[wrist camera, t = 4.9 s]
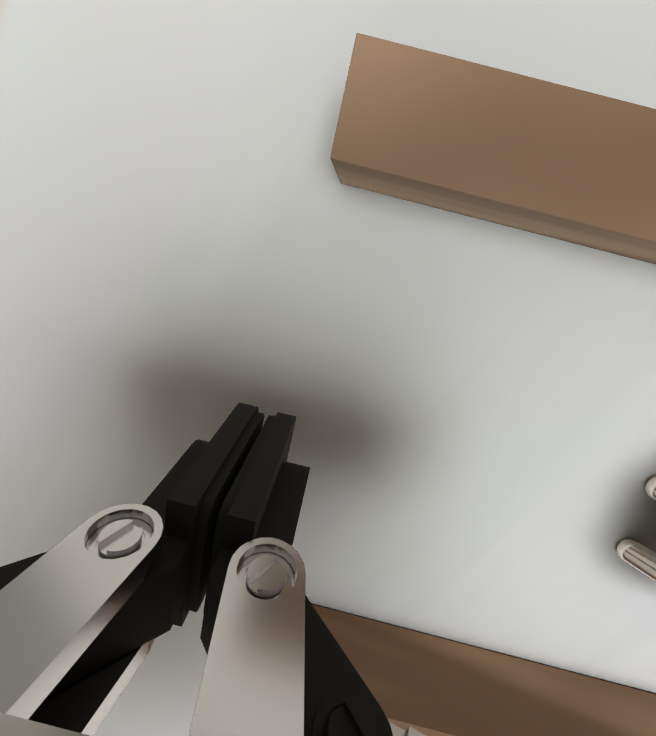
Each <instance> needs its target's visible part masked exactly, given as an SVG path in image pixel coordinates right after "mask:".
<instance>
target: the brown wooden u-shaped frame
mask: <svg viewBox="0 0 656 736" xmlns="http://www.w3.org/2000/svg"><path fill="white" fill-rule="evenodd" d="M331 161H332V163H333V165H334V168H335V170H336V173H337V175H338V177H339V180H340V182H341V183H342V184H346V185H350V186H354V187H358V188H362V189H366V190H370V191H373V192H377V193H381V194H385V195H389V196H393V197H397V198H401V199H405V200H408V201H412V202H416V203H420V204H424V205H428V206H432V207H436V208H439V209H443V210H447V211H451V212H455V213H459V214H463V215H467V216H471V217H474V218H478V219H482V220H486V221H490V222H494V223H498V224H502V225H505V226H509V227H513V228H517V229H521V230H525V231H529V232H533V233H537V234H540V235H544V236H548V237H552V238H556V239H560V240H564V241H568V242H571V243H575V244H579V245H583V246H587V247H591V248H595V249H599V250H603V251H606V252H610V253H614V254H618V255H622V256H626V257H630V258H634V259H637V260H641V261H645V262H649V263H653V264H656V109H653V108H649V107H645V106H641V105H637V104H633V103H629V102H625V101H621V100H617V99H613V98H610V97H606V96H602V95H598V94H594V93H590V92H586V91H582V90H578V89H574V88H571V87H567V86H563V85H559V84H555V83H551V82H547V81H543V80H539V79H535V78H531V77H528V76H524V75H520V74H516V73H512V72H508V71H504V70H500V69H496V68H492V67H489V66H485V65H481V64H477V63H473V62H469V61H465V60H461V59H457V58H453V57H449V56H446V55H442V54H438V53H434V52H430V51H426V50H422V49H418V48H414V47H410V46H407V45H403V44H399V43H395V42H391V41H387V40H383V39H379V38H375V37H371V36H367V35H364V34H360V33H357V34H356V39H355V43H354V48H353V53H352V58H351V62H350V67H349V72H348V77H347V81H346V86H345V91H344V96H343V100H342V105H341V110H340V115H339V119H338V124H337V129H336V134H335V139H334V143H333V148H332V153H331ZM312 606H313V607H314V608H315V610H316V611H317V613H318V614H319V616H320V617H321V619H322V620H323V622H324V623H325V625H326V626H327V628H328V629H329V631H330V632H331V634H332V635H333V637H334V638H335V640H336V641H337V642H338V644H339V645H340V647H341V648H342V650H343V651H344V653H345V654H346V656H347V657H348V659H349V660H350V662H351V663H352V665H353V666H354V668H355V669H356V671H357V672H358V673H359V675H360V676H361V678H362V679H363V681H364V682H365V684H366V685H367V687H368V688H369V690H370V691H371V693H372V694H373V696H374V697H375V699H376V700H377V702H378V703H379V705H380V706H381V708H382V710H383V712H384V713H385V715H386V717H387V719H388V721H389V722H391V723H393V724H394V725H396V726H398V727H399V728H401V729H403V730H405V731H406V730H407V729H408V727H409V726H410V727H412V728H414V729H416V730H417V731H419V732H421V733H423V734H424V735H426V736H656V694H653V693H649V692H645V691H641V690H638V689H634V688H630V687H626V686H622V685H618V684H615V683H611V682H607V681H603V680H599V679H595V678H592V677H588V676H584V675H580V674H576V673H573V672H569V671H565V670H561V669H557V668H553V667H550V666H546V665H542V664H538V663H534V662H531V661H527V660H523V659H519V658H515V657H511V656H508V655H504V654H500V653H496V652H492V651H489V650H485V649H481V648H477V647H473V646H469V645H466V644H462V643H458V642H454V641H450V640H446V639H443V638H439V637H435V636H431V635H427V634H424V633H420V632H416V631H412V630H408V629H404V628H401V627H397V626H393V625H389V624H385V623H382V622H378V621H374V620H370V619H366V618H362V617H359V616H355V615H351V614H347V613H343V612H339V611H336V610H332V609H328V608H324V607H320V606H317V605H313V604H312Z"/></svg>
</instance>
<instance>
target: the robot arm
mask: <svg viewBox="0 0 656 736" xmlns="http://www.w3.org/2000/svg"><path fill="white" fill-rule="evenodd" d="M258 410H259V408H258V407H255V406H251V405H247V404H243V403H238V405H237V406H236V407H235V409H234V410H233V411H232V413H231V414H230V415H229V417H228V418H227V419H226V421H225V422H224V423H223V425H222V426H221V427H220V429H219V430H218V431H217V433H216V434H215V435H214V437H213V438H212V439H211V441H210V442H206V441H202V440H196V441H195V442H194V443H193V444H192V445H191V446H190V447H189V448H188V450H187V451H186V452H185V453H184V454H183V456H182V457H181V458H180V459H179V461H178V462H177V463H176V464H175V465H174V467H173V468H172V469H171V470H170V471H169V473H168V474H167V475H166V476H165V478H164V479H163V480H162V481H161V482H160V484H159V485H158V486H157V487H156V488H155V490H154V491H153V492H152V493H151V495H150V496H149V497H148V498H147V499H146V501H145V502H144V503H143V504H142V505H141V504H121V505H116V506H111V507H109V508H106V509H104V510H101V511H99V512H98V513H96V514H95V515H93V516H92V517H90V518H88V519H87V520H86V521H85V522H84V523H82V524H81V525H80V526H79V527H77V528H76V529H75V530H74V531H72V532H71V533H70V534H69V535H68V536H66V537H65V538H64V539H63V540H61V541H60V542H59V543H58V544H57V545H55V546H54V547H53V548H52V549H50V550H49V551H48V552H45V553H42V554H39V555H36V556H33V557H30V558H27V559H24V560H20V561H17V562H14V563H11V564H8V565H5V566H2V567H0V736H93V734H94V733H95V731H96V730H97V728H98V727H99V725H100V724H101V722H102V721H103V719H104V718H105V716H106V715H107V713H108V712H109V710H110V709H111V707H112V706H113V704H114V703H115V701H116V700H117V698H118V697H119V695H120V694H121V693H122V691H123V690H124V688H125V687H126V685H127V684H128V682H129V681H130V679H131V678H132V676H133V675H134V673H135V672H136V670H137V669H138V667H139V666H140V664H141V663H142V661H143V660H144V658H145V657H146V655H147V654H148V652H149V650H150V648H151V646H152V644H153V642H154V638H156V637H158V636H160V635H162V634H164V633H165V632H167V631H169V630H170V629H171V627H172V625H173V624H174V625H178V626H182V625H183V623H184V620H185V618H186V616H187V614H188V612H189V610H190V611H194V612H197V611H198V609H199V607H200V605H201V603H202V601H203V598H204V596H205V594H206V598H205V605H204V617H203V624H202V631H201V637H200V638H201V640H202V643H203V645H204V648H205V650H206V653H207V660H206V664H205V668H204V672H203V677H202V681H201V685H200V689H199V694H198V698H197V702H196V707H195V711H194V715H193V719H192V724H191V728H190V732H189V736H426V735H424V734H423V733H421V732H419V731H417V730H416V729H414V728H412V727H410V726H409V727H408V729H407V730H406V731H405V730H403V729H401V728H399V727H398V726H396V725H394V724H393V723H391V722H389V721H388V719H387V717H386V715H385V713H384V712H383V710H382V708H381V706H380V705H379V703H378V702H377V700H376V699H375V697H374V696H373V694H372V693H371V691H370V690H369V688H368V687H367V685H366V684H365V682H364V681H363V679H362V678H361V676H360V675H359V673H358V672H357V671H356V669H355V668H354V666H353V665H352V663H351V662H350V660H349V659H348V657H347V656H346V654H345V653H344V651H343V650H342V648H341V647H340V645H339V644H338V642H337V641H336V640H335V638H334V637H333V635H332V634H331V632H330V631H329V629H328V628H327V626H326V625H325V623H324V622H323V620H322V619H321V617H320V616H319V614H318V613H317V611H316V610H315V608H314V607H313V606H312V604H311V603H310V601H309V600H308V598H307V597H306V595H305V568H304V563H303V561H302V559H301V557H300V555H299V553H298V552H297V551H296V550H295V549H294V548H293V547H292V544H293V540H294V535H295V531H296V527H297V522H298V518H299V514H300V509H301V505H302V501H303V496H304V492H305V488H306V483H307V479H308V475H309V470H310V468H309V467H305V466H301V465H297V464H293V463H289V462H286V461H287V457H288V452H289V448H290V443H291V439H292V434H293V430H294V425H295V421H296V417H295V416H291V415H287V414H283V413H279V412H278V413H277V414H276V416H271V415H269V416H268V418H267V420H266V422H265V424H264V426H263V428H262V425H263V420H264V414H263V413H259V412H258Z"/></svg>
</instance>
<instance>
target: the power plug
mask: <svg viewBox="0 0 656 736" xmlns="http://www.w3.org/2000/svg"><path fill="white" fill-rule="evenodd" d="M645 490H646V493H647V494H648V496H649V497H651V498H652V499H654V500H655V501H656V476H655V477H653V478H650V479H649V480H648V482H647V483H646V486H645ZM617 553H618V555H619V557H620V558H621V559H622V560H623V561H625V562H626V563H628V564H629V565H631V566H632V567H634V568H635V569H637V570H638V571H640V572H641V573H643V574H644V575H646V576H648V577H649V578H651V579H652V580H654V581H655V582H656V553H655V552H653V551H651V550H650V549H648V548H646V547H645V546H643V545H641V544H640V543H638V542H636V541H634V540H630V539H625V540H622V541H621V542H620V543H619V544H618V546H617Z"/></svg>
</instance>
